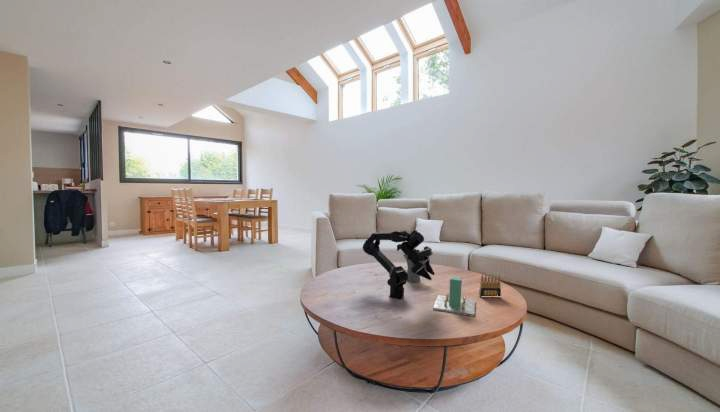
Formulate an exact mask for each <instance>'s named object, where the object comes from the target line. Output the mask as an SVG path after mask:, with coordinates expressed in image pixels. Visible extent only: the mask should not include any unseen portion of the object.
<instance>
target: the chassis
mask: <svg viewBox="0 0 720 412" xmlns="http://www.w3.org/2000/svg"><path fill="white" fill-rule="evenodd" d="M475 307H476V299H469V298H466V296H463V297H461V304H460V306H454V305H449V293H446V294H445V295H443V294H437V297H436V299H435V302H434V305H433V307H432V309H433V311H439V312H445V313H452V314H456V313H457V314H456V315H462V314H465V315H464V316H468V315H473V316H472V317H475V313H476V312H475V311H476V309H475Z"/></svg>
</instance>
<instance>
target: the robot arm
mask: <svg viewBox="0 0 720 412" xmlns="http://www.w3.org/2000/svg"><path fill="white" fill-rule="evenodd" d="M381 241H391V242H394V243H398V244H397V245H396V252H399V251H400V250H401V252H402V253H403V255H406V256H407V257H408V258H407V259H408V260H409V259H410V261H411V262H412V263H413V267H412V268H411V271H412V272H413V273H415V274H417V275H420V277H422V278H425V279H426V280H428V281H431V280H432V279H433V278H432V277H431V275H432V276H434V275H435V274H436V273H435V271H434V270H433V268H432V266H431V264H430V262H431V259H430V257H431V256H432V255H433V251H432V248H431V247H429V246H428V245H427V246H424V247H423V249H422V250H419V249H417V248H418V246H420V245H421V244H422V243H423V242H425V237H424V235H423V234H421V233H420V232H419V231H417V230H416V229H415V230H413V231H411V232H410V233H408V232H407V230H404V229H403V230H396V231H395V230H394V231H391V232H373V233H371V234H370V236H369V237H368V238H367V239H366V240H365V241H364V243H363V245H362V250H363V252H364V253H365V254H367V256H368V255H369V256H370V257H373V258H374V259H375V260H376V261H377V262H378V263H379V264H380V266H382V267H383V268H384V269H385V271H387V273H388V277H389V278H388V279H387V281H386V282H387V286H389V295H388V298H392V299H396V300H402V298H403V297H404V296H405V287H404V285H406V284H407V282H408V281H407V280H408V274H407V270H406V269H404V267H402V265H399V266H396V265H395V264H394V262H392V261H391V260H390V259H389V258H388V257H387V256H386V255H385V254H384V253H383V252H382V251H381V248H380V245H381ZM427 259H428V260H427ZM430 274H431V275H430Z"/></svg>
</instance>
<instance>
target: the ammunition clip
mask: <svg viewBox="0 0 720 412" xmlns="http://www.w3.org/2000/svg"><path fill="white" fill-rule="evenodd" d="M479 283H480V287H479V292H478V293H479V294H478V296H479V295H480V296H497V295H498V296H501V297H502V289H501V286H502V285H501V275H500V274H499V275H498V276H497V274H495V275H494V274H492V275H490V274H488V276H487V274H485V275H483V274H481V277H480V282H479Z"/></svg>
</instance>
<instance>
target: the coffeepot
mask: <svg viewBox="0 0 720 412" xmlns="http://www.w3.org/2000/svg"><path fill="white" fill-rule="evenodd" d="M402 256H403V258H405V260H406V265H407V268H406V269H407V270H406V272H407V274H408V280H407V282H409V281H410V283H418V281H419V282H420V281H421V276H420V275H417V274H415V273H413V272H412V271H411V268H412V267H413V263H412V262H411V261H410V259H409V260H408V259H407V258H408V257H407V256H406V255H405V254H403V255H402ZM427 260H429V259H427Z"/></svg>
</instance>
